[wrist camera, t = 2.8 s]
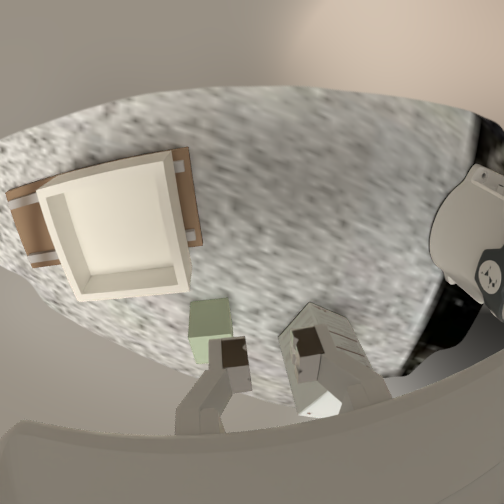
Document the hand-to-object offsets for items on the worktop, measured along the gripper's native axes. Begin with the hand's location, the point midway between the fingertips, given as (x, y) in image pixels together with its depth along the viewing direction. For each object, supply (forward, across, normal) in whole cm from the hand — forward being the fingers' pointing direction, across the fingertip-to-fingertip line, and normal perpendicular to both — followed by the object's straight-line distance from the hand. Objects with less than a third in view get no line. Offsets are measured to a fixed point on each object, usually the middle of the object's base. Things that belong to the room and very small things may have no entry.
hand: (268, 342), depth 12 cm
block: (+19, +4, +15) cm, 25 cm away
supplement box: (+19, -8, +20) cm, 29 cm away
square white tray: (+18, +10, 0) cm, 20 cm away
